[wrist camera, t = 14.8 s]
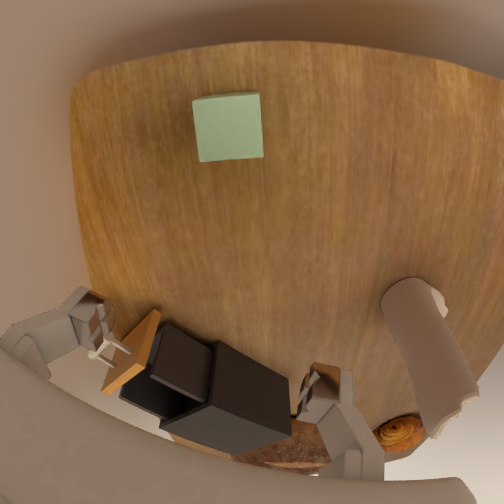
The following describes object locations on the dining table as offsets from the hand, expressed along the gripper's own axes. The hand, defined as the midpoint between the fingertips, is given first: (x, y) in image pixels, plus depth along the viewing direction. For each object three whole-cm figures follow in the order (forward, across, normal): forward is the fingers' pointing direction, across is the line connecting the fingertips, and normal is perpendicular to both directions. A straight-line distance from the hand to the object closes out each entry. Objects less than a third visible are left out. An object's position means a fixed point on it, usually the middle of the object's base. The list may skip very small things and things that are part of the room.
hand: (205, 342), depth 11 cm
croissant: (+29, -44, +54) cm, 76 cm away
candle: (+26, -23, +14) cm, 37 cm away
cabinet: (+20, 0, +33) cm, 39 cm away
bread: (+24, -17, +58) cm, 65 cm away
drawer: (+18, +10, +26) cm, 33 cm away
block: (+20, +5, -4) cm, 21 cm away
